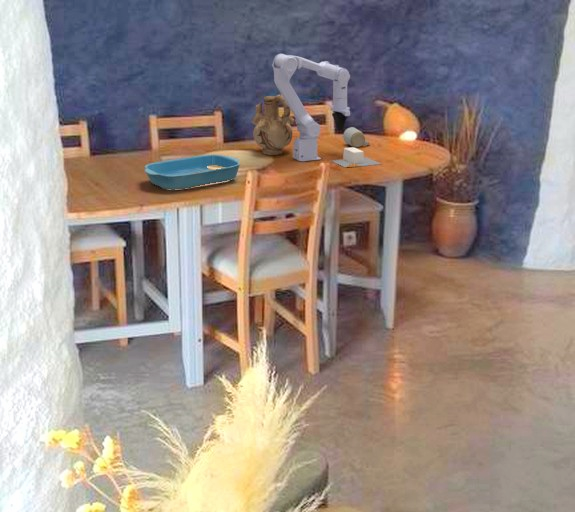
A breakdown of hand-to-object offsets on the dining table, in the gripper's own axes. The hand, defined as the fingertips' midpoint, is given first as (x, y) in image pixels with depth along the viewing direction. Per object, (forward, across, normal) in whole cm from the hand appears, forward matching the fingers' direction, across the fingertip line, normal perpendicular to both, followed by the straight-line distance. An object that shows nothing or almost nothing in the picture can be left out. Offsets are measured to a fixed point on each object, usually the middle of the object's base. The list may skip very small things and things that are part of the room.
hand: (340, 130), depth 364 cm
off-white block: (+8, -8, 0) cm, 11 cm away
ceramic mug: (+11, +14, -15) cm, 23 cm away
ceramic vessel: (+10, +15, +24) cm, 30 cm away
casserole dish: (+9, -19, +69) cm, 72 cm away
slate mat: (+10, -15, 0) cm, 18 cm away
